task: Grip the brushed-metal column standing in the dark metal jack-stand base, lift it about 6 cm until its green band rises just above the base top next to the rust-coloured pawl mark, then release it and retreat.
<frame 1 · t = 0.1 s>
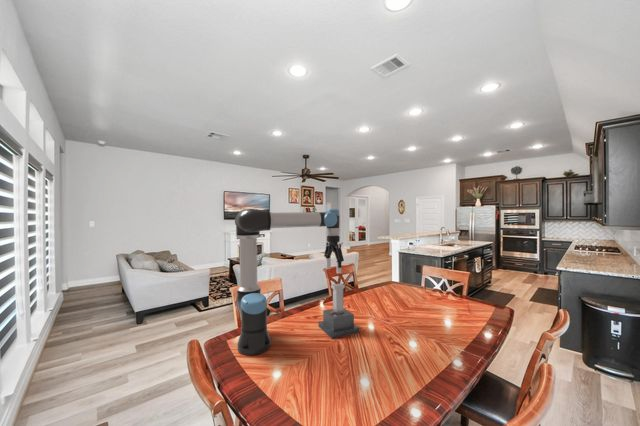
hand: (333, 271, 156), 28 cm above the table, fingers open, 13 cm apart
column: (338, 307, 141), point 12 cm above the table, slide at 0.0 cm
stand base: (338, 329, 141), on the table
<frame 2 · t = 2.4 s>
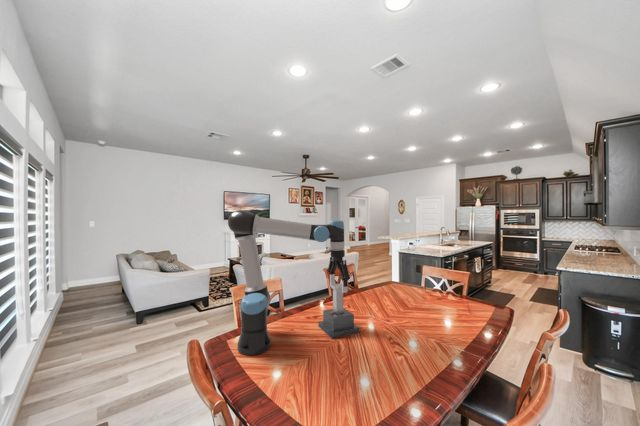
hand: (338, 289, 141), 21 cm above the table, fingers open, 13 cm apart
nothing on the table moved.
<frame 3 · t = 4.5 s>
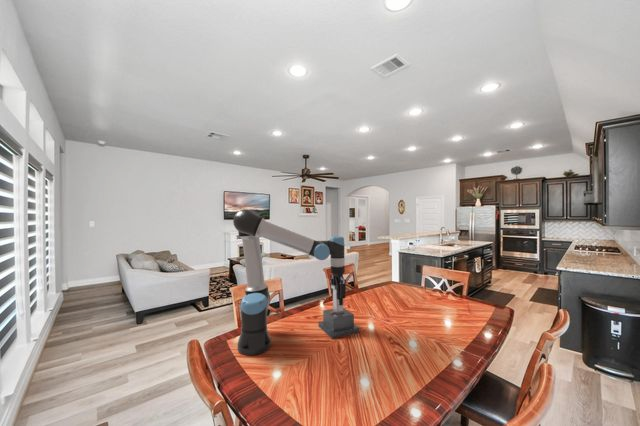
hand: (338, 309, 141), 11 cm above the table, fingers closed on column, 4 cm apart
column: (338, 307, 141), point 12 cm above the table, slide at 0.0 cm, touching gripper
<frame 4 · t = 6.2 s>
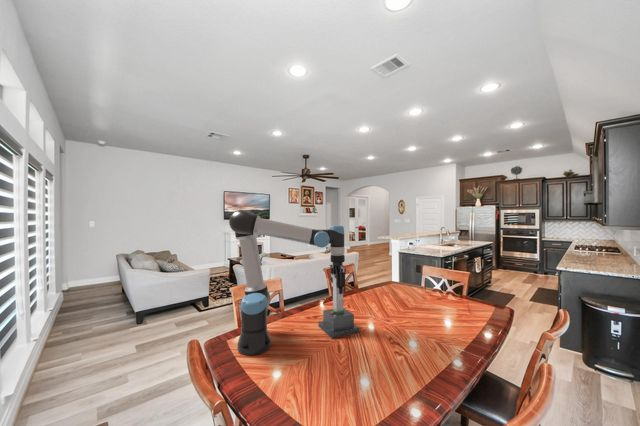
hand: (337, 298, 141), 17 cm above the table, fingers closed on column, 4 cm apart
column: (337, 296, 141), point 18 cm above the table, slide at 5.9 cm, touching gripper
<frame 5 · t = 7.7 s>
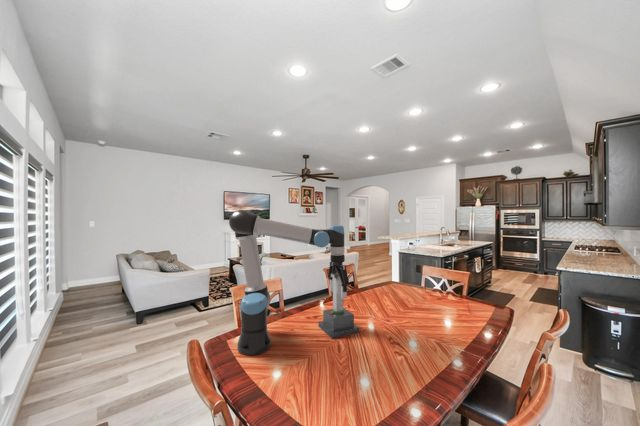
hand: (337, 294, 141), 19 cm above the table, fingers open, 12 cm apart
column: (337, 296, 141), point 18 cm above the table, slide at 6.0 cm
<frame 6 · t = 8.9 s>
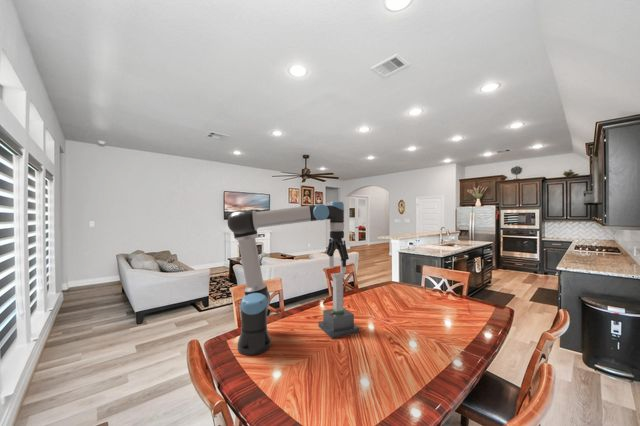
hand: (337, 270, 141), 31 cm above the table, fingers open, 13 cm apart
nothing on the table moved.
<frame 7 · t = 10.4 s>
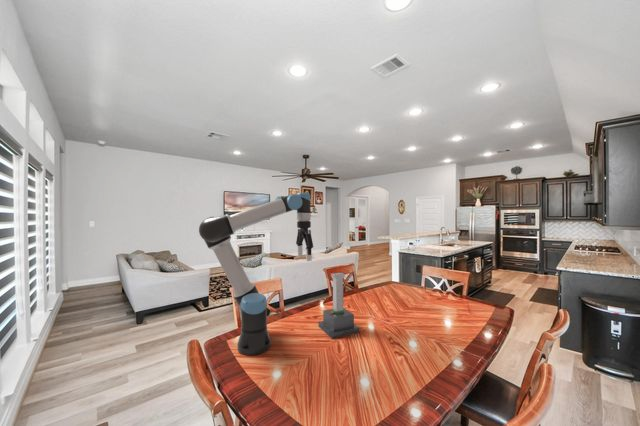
hand: (304, 259, 147), 37 cm above the table, fingers open, 13 cm apart
nothing on the table moved.
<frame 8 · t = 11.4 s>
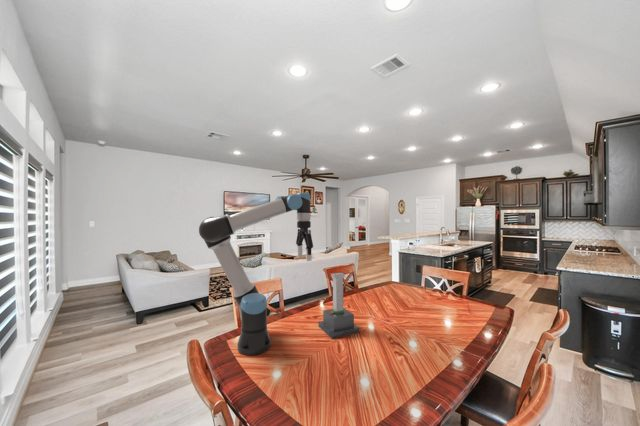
hand: (304, 258, 147), 37 cm above the table, fingers open, 13 cm apart
nothing on the table moved.
at the end: column slide at 6.0 cm; the gripper is holding nothing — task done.
